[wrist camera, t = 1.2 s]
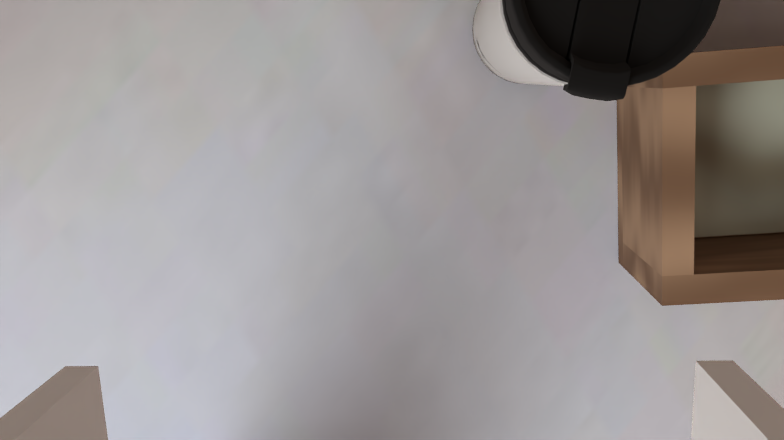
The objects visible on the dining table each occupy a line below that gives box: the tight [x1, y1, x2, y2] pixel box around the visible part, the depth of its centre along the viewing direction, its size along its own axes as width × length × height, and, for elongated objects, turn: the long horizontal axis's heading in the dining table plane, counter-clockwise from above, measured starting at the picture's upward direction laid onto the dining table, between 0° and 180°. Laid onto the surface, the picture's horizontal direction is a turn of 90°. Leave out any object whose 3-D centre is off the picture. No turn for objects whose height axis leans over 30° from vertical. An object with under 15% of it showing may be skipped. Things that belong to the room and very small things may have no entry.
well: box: [617, 45, 784, 306], centre depth 36 cm, size 12×12×8 cm
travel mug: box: [472, 0, 720, 101], centre depth 29 cm, size 6×7×20 cm
